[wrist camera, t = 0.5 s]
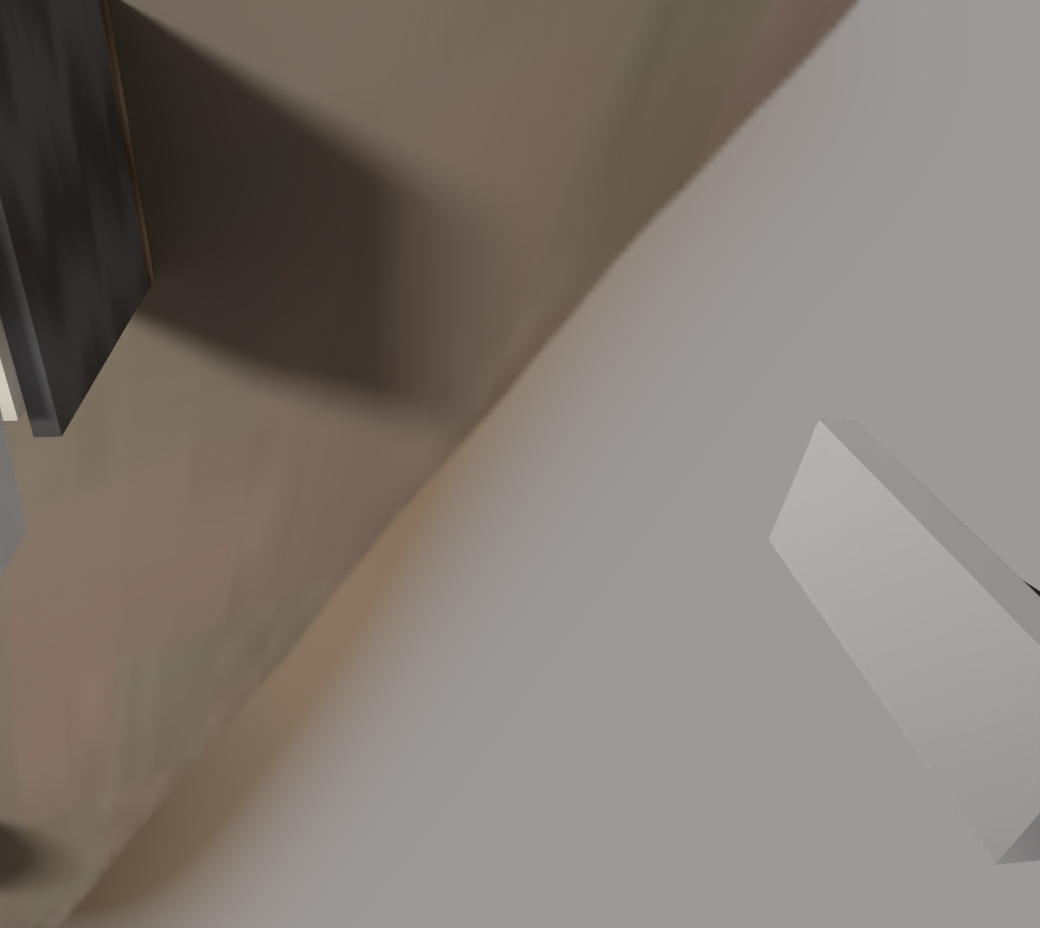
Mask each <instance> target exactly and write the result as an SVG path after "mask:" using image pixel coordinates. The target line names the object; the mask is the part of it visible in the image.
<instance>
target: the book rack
mask: <svg viewBox="0 0 1040 928" xmlns="http://www.w3.org/2000/svg"><path fill="white" fill-rule="evenodd" d="M153 280H154V273H153V267H152V261H151V255H150V249H149V243H148V237H147V231H146V225H145V219H144V213H143V207H142V201H141V195H140V189H139V183H138V177H137V171H136V165H135V159H134V153H133V147H132V141H131V135H130V129H129V123H128V117H127V111H126V105H125V99H124V93H123V87H122V81H121V75H120V69H119V63H118V57H117V51H116V45H115V39H114V33H113V27H112V21H111V15H110V9H109V3H108V0H0V408H1V412H2V417H3V421H14V420H19V418H20V417H21V416H22V414H23V413H24V411H25V410H27V414H28V418H29V421H30V425H31V428H32V432H33V435H34V437H55V436H62V435H63V433H64V432H65V430H66V428H67V427H68V425H69V423H70V421H71V420H72V418H73V416H74V415H75V413H76V411H77V410H78V408H79V406H80V404H81V403H82V401H83V399H84V398H85V396H86V394H87V392H88V391H89V389H90V387H91V386H92V384H93V382H94V381H95V379H96V377H97V375H98V374H99V372H100V370H101V369H102V367H103V365H104V363H105V362H106V360H107V358H108V357H109V355H110V353H111V352H112V350H113V348H114V346H115V345H116V343H117V341H118V340H119V338H120V336H121V334H122V333H123V331H124V329H125V328H126V326H127V324H128V323H129V321H130V319H131V317H132V316H133V314H134V312H135V311H136V309H137V307H138V305H139V304H140V302H141V300H142V299H143V297H144V295H145V294H146V292H147V290H148V288H149V287H150V285H151V283H152V282H153Z"/></svg>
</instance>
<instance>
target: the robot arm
mask: <svg viewBox="0 0 1040 928" xmlns="http://www.w3.org/2000/svg"><path fill="white" fill-rule="evenodd" d="M26 530H27V524H26V520H25V515H24V511H23V506H22V502H21V497H20V493H19V488H18V484H17V479H16V475H15V470H14V466H13V462H12V457H11V453H10V448H9V444H8V439H7V435H6V430H5V426H4V421H3V417H2V412H1V408H0V578H1V576H2V574H3V572H4V570H5V569H6V567H7V565H8V563H9V561H10V560H11V558H12V556H13V554H14V552H15V550H16V549H17V547H18V545H19V543H20V541H21V540H22V538H23V536H24V534H25V532H26ZM769 541H770V542H771V544H772V545H773V546H774V548H775V549H776V551H777V552H778V554H779V555H780V557H781V558H782V559H783V561H784V562H785V564H786V565H787V567H788V568H789V569H790V571H791V572H792V574H793V575H794V577H795V578H796V580H797V581H798V582H799V584H800V585H801V587H802V588H803V589H804V591H805V592H806V594H807V595H808V597H809V598H810V600H811V601H812V602H813V604H814V605H815V607H816V608H817V610H818V611H819V612H820V614H821V615H822V617H823V618H824V620H825V621H826V623H827V624H828V625H829V627H830V628H831V630H832V631H833V633H834V634H835V635H836V637H837V638H838V640H839V641H840V642H841V644H842V646H843V647H844V648H845V650H846V651H847V653H848V654H849V656H850V657H851V658H852V660H853V661H854V663H855V664H856V666H857V667H858V668H859V670H860V671H861V673H862V674H863V676H864V677H865V678H866V680H867V682H868V683H869V684H870V686H871V687H872V689H873V690H874V691H875V693H876V694H877V696H878V697H879V699H880V700H881V702H882V703H883V705H884V706H885V707H886V709H887V710H888V712H889V713H890V714H891V716H892V717H893V719H894V720H895V722H896V723H897V725H898V726H899V727H900V729H901V730H902V732H903V733H904V735H905V736H906V737H907V739H908V740H909V742H910V743H911V744H912V746H913V748H914V749H915V750H916V752H917V753H918V755H919V756H920V758H921V759H922V760H923V762H924V763H925V765H926V766H927V768H928V769H929V771H930V772H931V773H932V775H933V776H934V778H935V779H936V781H937V782H938V784H939V785H940V786H941V788H942V789H943V791H944V792H945V794H946V795H947V796H948V798H949V799H950V801H951V802H952V804H953V805H954V807H955V808H956V809H957V811H958V812H959V814H960V815H961V817H962V818H963V819H964V820H965V822H966V824H967V825H968V827H969V828H970V829H971V831H972V832H973V834H974V835H975V837H976V838H977V839H978V841H979V842H980V844H981V845H982V847H983V848H984V850H985V851H986V852H987V854H988V855H989V857H990V858H991V860H992V861H993V863H994V864H995V865H997V864H1006V863H1017V862H1026V861H1036V860H1040V591H1039V590H1037V589H1036V588H1034V587H1032V586H1031V585H1029V584H1028V583H1026V582H1025V581H1023V580H1022V579H1021V578H1020V577H1018V576H1017V575H1016V574H1015V573H1014V572H1013V571H1012V570H1011V569H1010V568H1009V567H1008V566H1007V565H1006V564H1005V563H1004V562H1003V561H1002V560H1000V558H999V557H998V556H996V555H995V554H994V553H993V552H992V551H991V550H990V549H989V548H988V547H987V546H986V545H985V544H984V543H983V542H982V541H981V540H980V539H979V538H978V537H977V536H976V535H975V534H973V533H972V532H971V531H970V530H969V529H968V528H967V527H966V526H965V525H964V524H963V523H962V522H961V521H960V520H959V519H958V518H957V517H956V516H954V514H952V513H951V512H950V511H949V510H948V509H947V508H946V507H945V506H944V505H943V504H942V503H941V502H940V501H939V500H937V498H936V497H935V496H934V495H933V494H931V493H930V492H929V491H928V490H927V489H926V488H925V487H924V486H923V485H922V484H921V483H920V482H919V481H918V480H917V479H916V478H915V477H914V476H913V475H912V474H911V473H910V472H908V471H907V470H906V469H905V468H904V467H903V466H902V465H901V464H900V463H899V462H898V461H897V460H896V459H895V458H894V457H893V456H892V455H891V454H890V453H889V452H887V451H886V450H885V449H884V448H883V447H882V446H881V445H880V444H879V443H878V442H877V441H876V440H875V439H874V438H873V437H872V436H871V435H870V434H868V432H867V431H865V430H864V429H863V428H862V427H861V426H860V425H859V424H858V423H857V422H854V421H837V420H819V421H818V423H817V426H816V428H815V431H814V433H813V436H812V438H811V440H810V442H809V445H808V447H807V449H806V452H805V455H804V457H803V459H802V461H801V464H800V466H799V468H798V471H797V473H796V476H795V478H794V481H793V483H792V485H791V488H790V490H789V493H788V495H787V497H786V499H785V502H784V504H783V507H782V509H781V511H780V514H779V516H778V518H777V521H776V523H775V526H774V528H773V530H772V533H771V535H770V538H769Z"/></svg>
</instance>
